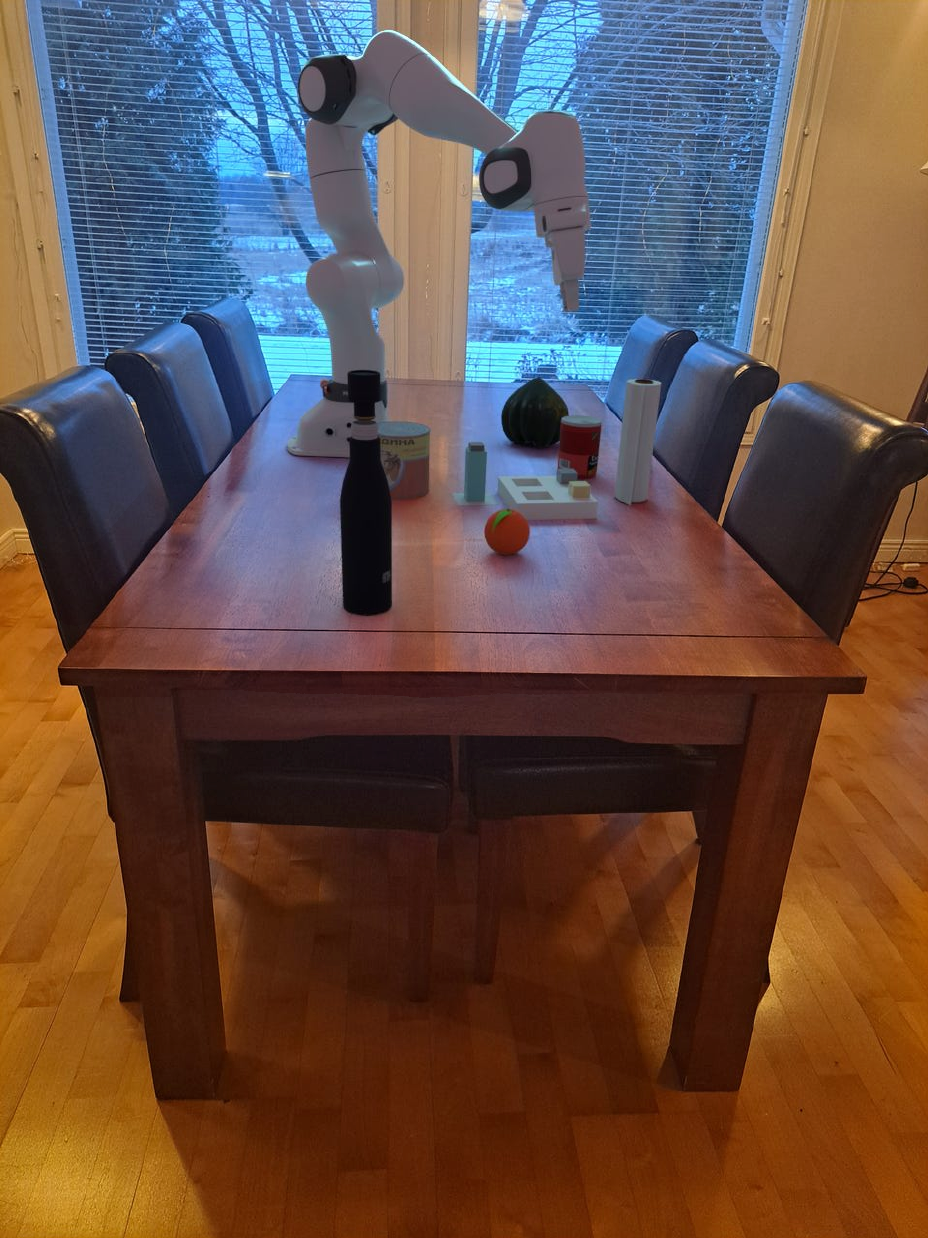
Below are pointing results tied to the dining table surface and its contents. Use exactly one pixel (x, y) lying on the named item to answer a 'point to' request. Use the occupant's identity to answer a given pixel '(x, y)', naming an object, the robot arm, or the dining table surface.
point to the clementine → (507, 532)
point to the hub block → (548, 496)
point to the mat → (462, 502)
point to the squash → (534, 414)
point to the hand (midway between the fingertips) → (571, 311)
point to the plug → (475, 472)
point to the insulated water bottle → (365, 506)
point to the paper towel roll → (637, 440)
